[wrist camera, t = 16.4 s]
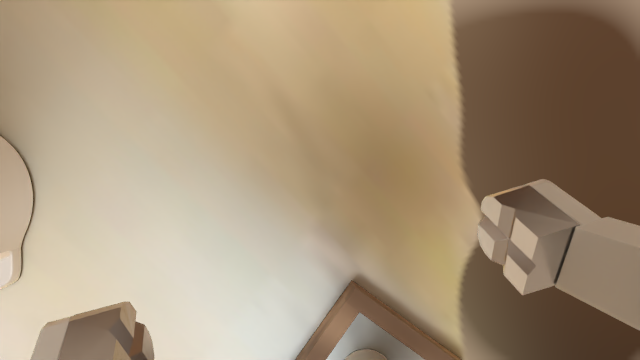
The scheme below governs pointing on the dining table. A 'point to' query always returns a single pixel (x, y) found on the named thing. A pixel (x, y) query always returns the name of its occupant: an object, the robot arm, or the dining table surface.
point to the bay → (379, 313)
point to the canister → (366, 355)
